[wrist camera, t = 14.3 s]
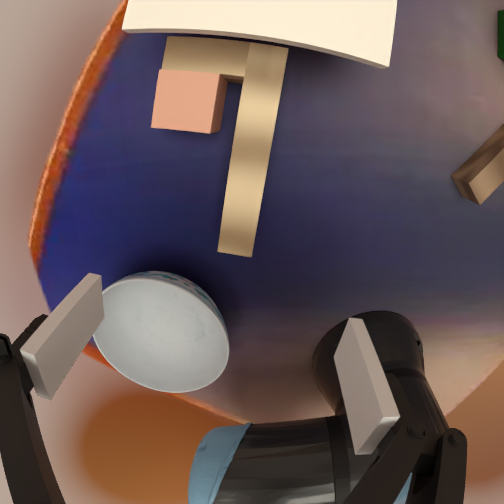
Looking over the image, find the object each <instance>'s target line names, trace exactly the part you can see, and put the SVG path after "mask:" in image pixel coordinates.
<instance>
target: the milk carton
mask: <svg viewBox="0 0 504 504" xmlns="http://www.w3.org/2000/svg"><path fill="white" fill-rule="evenodd" d="M498 57H499V58H501V59H503V60H504V10H500V11H498Z"/></svg>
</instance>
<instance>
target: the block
mask: <svg viewBox="0 0 504 504" xmlns="http://www.w3.org/2000/svg"><path fill="white" fill-rule="evenodd" d="M227 85H228V81H227V80H226V79H225V78H224V77H223V76H222V75H220V74H218V73H207V72H196V71H181V70H160V69H159V75H158V82H157V88H156V95H155V102H154V109H153V117H152V125H151V128H163V129H174V130H184V131H193V132H201V133H214V132H217V131H220V128H221V121H222V115H223V109H224V103H225V97H226V91H227Z"/></svg>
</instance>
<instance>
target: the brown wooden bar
mask: <svg viewBox="0 0 504 504" xmlns="http://www.w3.org/2000/svg"><path fill="white" fill-rule="evenodd" d="M451 177H452V179H453V180H454V182H455V184H456V186H457V187H458V189H459V191H460V193H461V195H462V196H463V197H465V198H467V199H469V200H471V201H473V202H475V203H477V204H479V205H480V204H481V203H482V202H483V201H484V200H485V199H486V198H487V197H488V196H489V195H490V194H491V193H492V192H493V191H494V190H495V189H496V188H497V187H498V186H499V185H500V184H501V183H502V182H503V181H504V124H503V125H502V126H501V127H500V128H499V129H498V130H497V131H496V132H495V133H494V134H493V135H492V136H491V137H490V138H489V139H488V140H487V141H486V142H485V143H484V144H483V145H482V146H481V147H480V148H479V149H478V150H477V151H476V152H475V153H474V154H473V155H472V156H471V157H470V158H469V159H468V160H467V161H466V162H465V163H464V164H463V165H462V166H461V167H460V168H459V169H458V170H457V171H456V172H454V173H453V174H452V175H451Z"/></svg>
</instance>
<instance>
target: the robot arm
mask: <svg viewBox="0 0 504 504" xmlns="http://www.w3.org/2000/svg"><path fill="white" fill-rule="evenodd" d="M104 318H105V317H104V307H103V295H102V282H101V275H96V274H92V273H88V274H87V275H86V276H85V277H84V278H83V279H82V281H81V282H80V283H79V284H78V285H77V286H76V287H75V288H74V289H73V290H72V291H71V292H70V293H69V294H68V295H67V296H66V297H65V299H64V300H63V301H62V302H61V303H60V304H59V305H58V306H57V307H56V308H55V309H54V311H53V312H52V313H51V314H50V315H49V316H48V315H45V314H42V315H41V316H39V317H37V318H35V319H34V320H33V321H32V322H31V323H30V325H29V327H27V328H26V329H25V330H24V332H23V333H22V334H21V335H20V336H19V337H18V338H17V339H16V340H15V341H14V343H13V344H12V345H11V342H10V339H9V337H8V336H7V335H5V334H2V333H0V453H1V458H2V462H3V467H4V471H5V475H6V479H7V482H8V486H9V490H10V493H11V496H12V500H13V503H14V504H66V503H65V501H64V498H63V496H62V494H61V491H60V489H59V486H58V483H57V481H56V478H55V475H54V473H53V470H52V467H51V464H50V461H49V458H48V455H47V452H46V449H45V446H44V442H43V439H42V435H41V432H40V428H39V425H38V421H37V417H36V413H35V409H34V404H33V400H32V396H31V394H30V391H31V390H32V388H33V387H34V388H35V391H36V393H37V395H39V396H41V397H43V398H46V399H48V400H51V399H52V398H53V396H54V394H55V392H56V391H57V390H58V388H59V386H60V385H61V383H62V381H63V380H64V378H65V377H66V375H67V374H68V372H69V370H70V369H71V367H72V366H73V364H74V363H75V361H76V359H77V358H78V356H79V355H80V353H81V352H82V350H83V349H84V347H85V346H86V344H87V343H88V341H89V340H90V338H91V337H92V335H93V334H94V332H95V331H96V329H97V328H98V327H99V325H100V324H101V322H102V321H103V319H104ZM313 371H314V378H315V382H316V384H317V387H318V388H319V390H320V391H321V392H322V394H323V395H324V397H325V399H326V400H327V402H328V403H329V405H330V406H331V408H332V409H333V411H334V412H335V416H329V417H321V418H313V419H305V420H296V421H286V422H275V423H261V424H253V423H250V422H249V423H247V424H245V425H235V426H222V427H217V428H214V429H212V430H211V431H209V432H208V433H207V434H206V435H205V436H204V437H203V439H202V440H201V442H200V444H199V446H198V448H197V451H196V454H195V456H194V459H193V464H192V467H191V471H190V478H189V486H188V504H463V499H464V490H465V478H466V463H467V461H466V460H467V439H466V437H465V435H464V434H463V433H462V432H461V431H460V430H458V429H456V428H449V426H448V424H447V422H446V419H445V417H444V415H443V413H442V411H441V408H440V406H439V404H438V402H437V400H436V398H435V396H434V394H433V392H432V390H431V388H430V386H429V384H428V382H427V380H426V377H425V371H424V358H423V348H422V342H421V339H420V337H419V335H418V333H417V331H416V330H415V328H414V326H413V325H412V323H411V322H410V321H409V320H408V319H406V318H405V317H403V316H401V315H399V314H396V313H392V312H386V311H376V312H369V313H364V314H360V315H357V316H355V317H352V318H349V319H348V320H346V321H344V322H342V323H341V324H339V325H338V326H336V327H335V328H334V329H332V330H331V331H330V332H329V333H328V334H327V335H326V336H325V337H324V338H323V339H322V341H321V342H320V343H319V345H318V347H317V349H316V351H315V354H314V357H313Z"/></svg>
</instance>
